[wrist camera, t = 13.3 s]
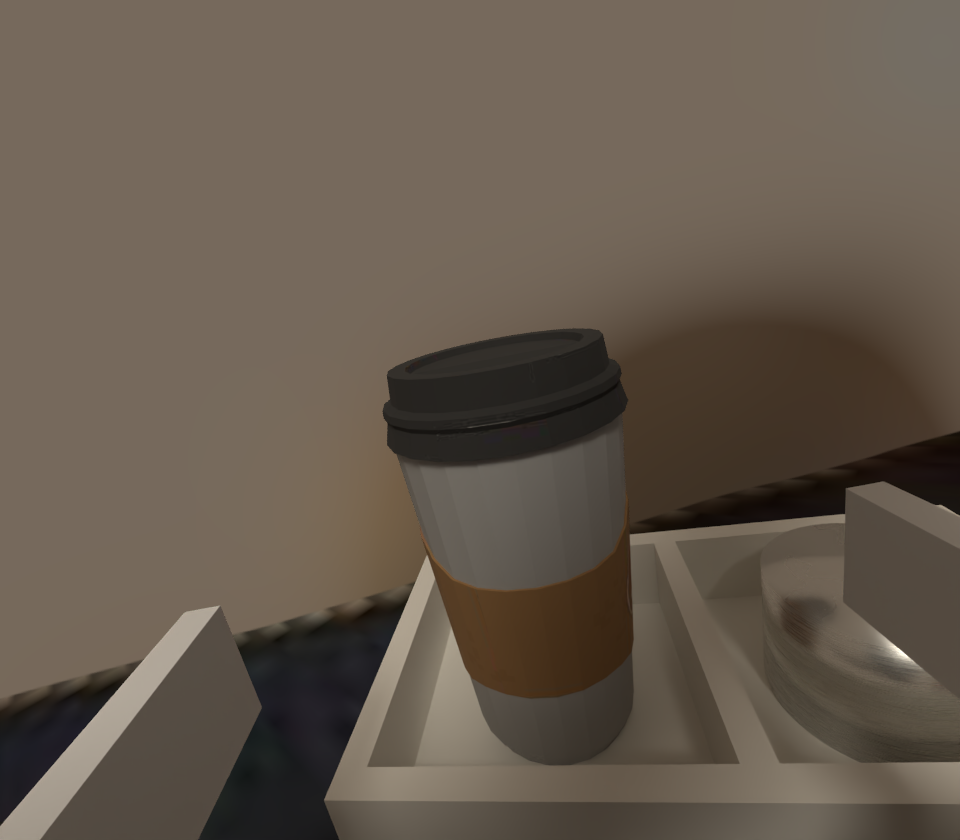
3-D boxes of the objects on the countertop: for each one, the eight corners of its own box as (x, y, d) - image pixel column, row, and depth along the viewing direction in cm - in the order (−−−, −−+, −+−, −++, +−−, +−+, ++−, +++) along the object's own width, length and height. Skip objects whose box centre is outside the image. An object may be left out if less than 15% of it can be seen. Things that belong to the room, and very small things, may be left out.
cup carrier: (933, 586, 23) (941, 504, 22) (1373, 947, 11) (1447, 807, 10) (444, 620, 28) (427, 554, 26) (362, 899, 15) (323, 800, 14)
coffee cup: (700, 783, 16) (662, 341, 12) (456, 819, 16) (338, 403, 12) (624, 615, 24) (586, 319, 20) (462, 642, 24) (393, 356, 20)
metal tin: (909, 616, 20) (917, 514, 19) (1082, 782, 14) (1112, 644, 13) (737, 626, 22) (732, 532, 20) (820, 782, 15) (821, 657, 14)
